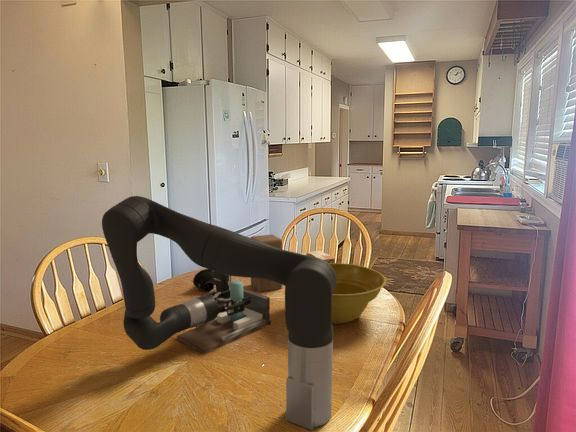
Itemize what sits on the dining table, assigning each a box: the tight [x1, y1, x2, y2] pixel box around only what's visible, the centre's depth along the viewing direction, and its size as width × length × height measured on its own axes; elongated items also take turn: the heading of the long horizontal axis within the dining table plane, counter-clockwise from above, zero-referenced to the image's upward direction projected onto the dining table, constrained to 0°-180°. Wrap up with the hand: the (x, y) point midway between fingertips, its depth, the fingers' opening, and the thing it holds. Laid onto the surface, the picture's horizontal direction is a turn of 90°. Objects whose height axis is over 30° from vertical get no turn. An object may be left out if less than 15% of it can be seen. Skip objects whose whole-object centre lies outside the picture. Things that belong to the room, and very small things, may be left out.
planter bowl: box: [328, 262, 387, 325], centre depth 141 cm, size 32×32×13 cm
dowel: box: [229, 280, 244, 325], centre depth 132 cm, size 4×4×13 cm
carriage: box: [217, 308, 262, 330], centre depth 134 cm, size 10×10×2 cm
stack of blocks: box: [300, 250, 336, 263], centre depth 176 cm, size 21×6×12 cm, turn 26°
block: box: [250, 234, 283, 293], centre depth 168 cm, size 10×10×20 cm
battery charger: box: [212, 271, 232, 299], centre depth 154 cm, size 7×4×11 cm, turn 49°
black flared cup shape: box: [192, 268, 216, 293], centre depth 169 cm, size 9×11×18 cm
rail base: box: [176, 288, 273, 355], centre depth 129 cm, size 26×13×9 cm, turn 138°
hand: (240, 296), depth 133 cm, fingers open, 8 cm apart
